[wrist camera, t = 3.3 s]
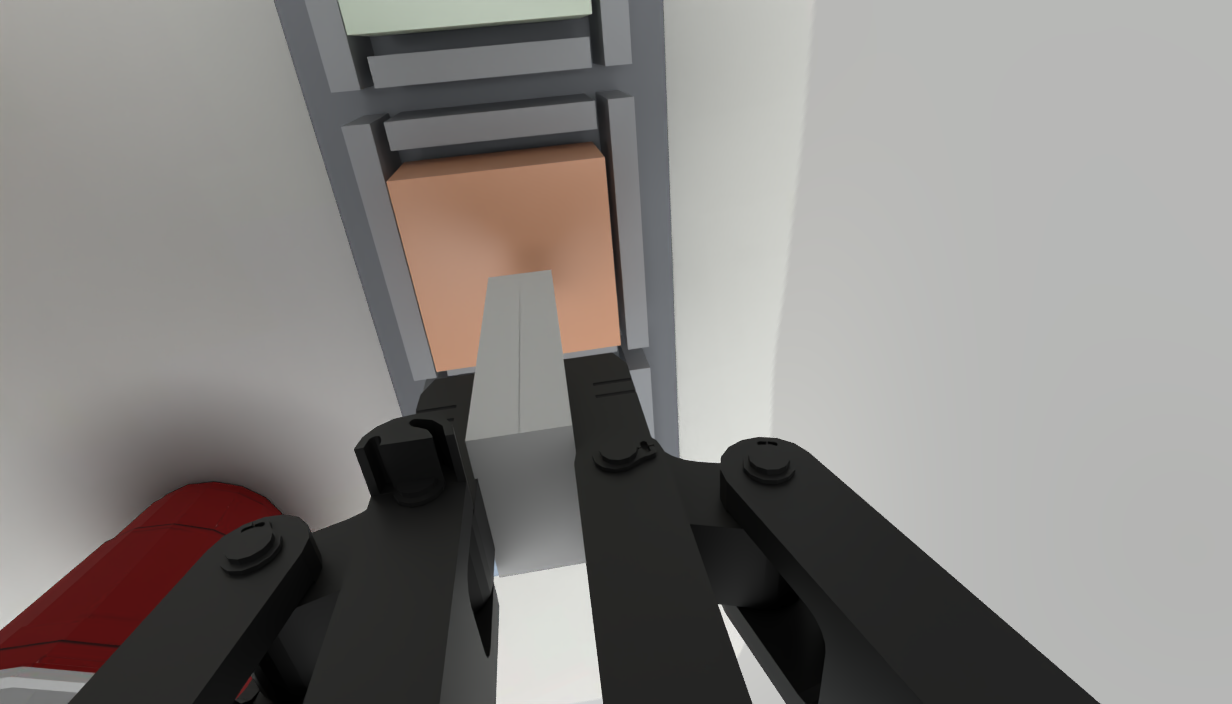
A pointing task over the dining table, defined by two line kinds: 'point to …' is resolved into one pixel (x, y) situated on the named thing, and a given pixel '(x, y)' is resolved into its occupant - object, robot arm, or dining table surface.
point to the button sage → (451, 14)
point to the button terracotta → (508, 241)
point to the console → (493, 122)
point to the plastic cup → (116, 591)
